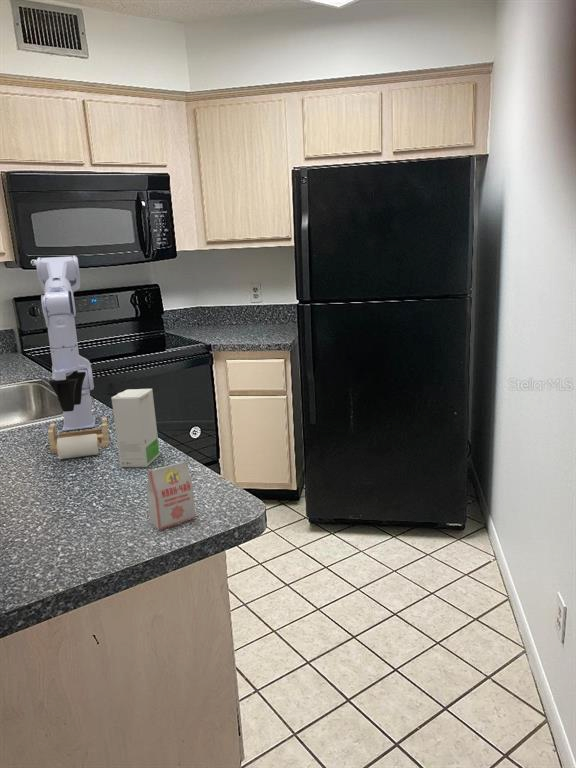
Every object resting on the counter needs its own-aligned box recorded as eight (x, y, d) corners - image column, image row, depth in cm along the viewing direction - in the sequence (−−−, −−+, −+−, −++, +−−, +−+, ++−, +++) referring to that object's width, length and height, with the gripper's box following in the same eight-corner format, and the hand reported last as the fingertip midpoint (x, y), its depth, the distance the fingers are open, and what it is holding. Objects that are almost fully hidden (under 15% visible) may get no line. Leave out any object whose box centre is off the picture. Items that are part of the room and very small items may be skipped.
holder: (53, 442, 147) (50, 423, 146) (108, 435, 151) (106, 416, 149) (50, 453, 140) (47, 432, 138) (108, 445, 143) (106, 425, 142)
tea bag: (150, 522, 103) (144, 467, 101) (186, 511, 107) (181, 458, 104) (158, 530, 100) (152, 474, 98) (195, 518, 104) (190, 464, 101)
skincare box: (146, 468, 128) (139, 397, 124) (117, 468, 129) (108, 397, 125) (160, 454, 136) (154, 387, 132) (133, 454, 137) (125, 387, 133)
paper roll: (57, 462, 134) (54, 442, 133) (59, 455, 138) (56, 435, 137) (99, 456, 136) (97, 436, 135) (100, 450, 141) (97, 430, 139)
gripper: (76, 348, 125) (84, 412, 127) (89, 342, 139) (96, 400, 141) (40, 351, 124) (49, 415, 126) (57, 345, 138) (65, 403, 140)
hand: (72, 407), depth 133 cm, fingers open, 7 cm apart
